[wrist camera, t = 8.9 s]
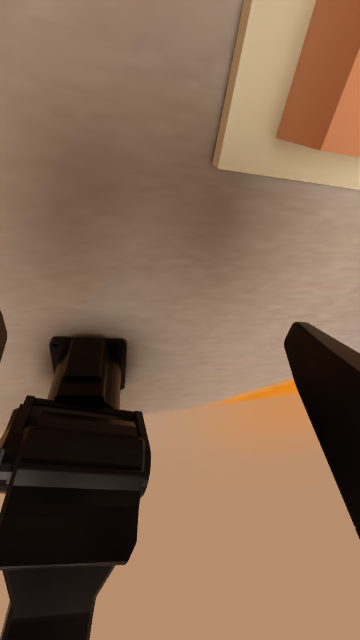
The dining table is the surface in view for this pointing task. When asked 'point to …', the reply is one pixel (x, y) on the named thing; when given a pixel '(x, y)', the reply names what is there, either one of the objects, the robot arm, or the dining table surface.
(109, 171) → the dining table surface
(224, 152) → the cream flat block
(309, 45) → the brick
